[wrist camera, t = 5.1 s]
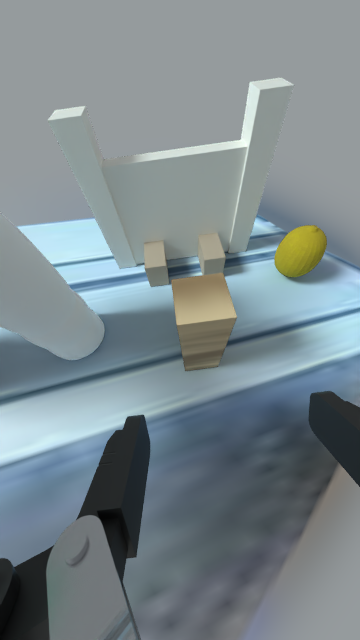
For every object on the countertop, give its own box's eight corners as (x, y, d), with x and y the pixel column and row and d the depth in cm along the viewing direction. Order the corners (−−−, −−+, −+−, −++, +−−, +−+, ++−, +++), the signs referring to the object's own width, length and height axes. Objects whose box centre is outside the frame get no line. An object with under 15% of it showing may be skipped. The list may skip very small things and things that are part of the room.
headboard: (254, 272, 29) (322, 100, 14) (118, 291, 30) (31, 142, 14) (241, 239, 33) (280, 77, 18) (120, 256, 34) (55, 110, 18)
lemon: (294, 294, 27) (328, 248, 20) (260, 275, 29) (280, 229, 22) (311, 272, 29) (348, 223, 22) (278, 256, 31) (302, 207, 24)
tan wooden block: (217, 366, 23) (236, 317, 12) (185, 371, 23) (176, 325, 12) (210, 333, 25) (221, 267, 14) (180, 337, 25) (170, 273, 14)
